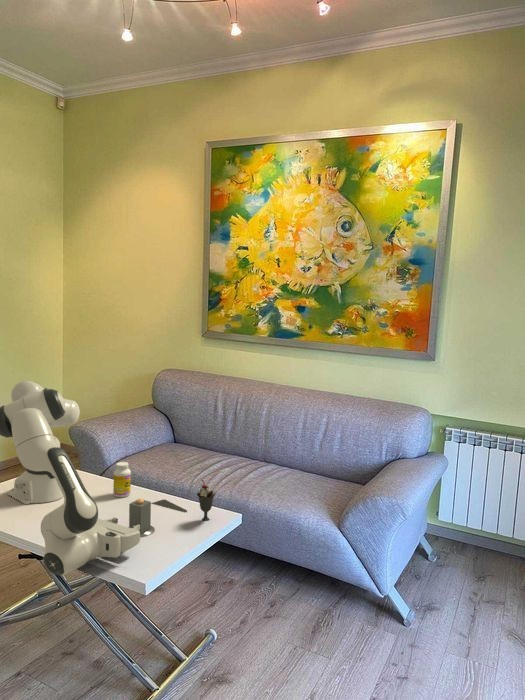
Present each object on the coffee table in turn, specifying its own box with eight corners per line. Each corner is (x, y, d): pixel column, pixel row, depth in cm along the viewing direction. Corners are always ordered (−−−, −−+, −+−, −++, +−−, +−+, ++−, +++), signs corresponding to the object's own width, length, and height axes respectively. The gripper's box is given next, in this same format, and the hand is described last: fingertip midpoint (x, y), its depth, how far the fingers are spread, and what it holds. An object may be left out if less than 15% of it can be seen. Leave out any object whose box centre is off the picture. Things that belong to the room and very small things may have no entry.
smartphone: (173, 516, 185) (148, 503, 195) (173, 518, 185) (148, 506, 195) (188, 510, 191) (164, 498, 201) (188, 513, 191) (164, 501, 201)
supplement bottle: (125, 498, 201) (126, 467, 200) (110, 496, 202) (110, 465, 201) (133, 492, 207) (133, 462, 206) (118, 490, 209) (118, 460, 207)
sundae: (196, 517, 186) (197, 477, 185) (214, 517, 187) (215, 477, 185) (195, 525, 180) (196, 483, 178) (214, 525, 180) (215, 484, 179)
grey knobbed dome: (118, 534, 170) (118, 520, 170) (138, 523, 179) (138, 509, 179) (141, 541, 166) (141, 527, 165) (160, 530, 175) (161, 516, 174)
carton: (129, 531, 171) (129, 501, 170) (139, 526, 176) (139, 496, 175) (140, 535, 169) (141, 504, 168) (150, 529, 174) (150, 499, 173)
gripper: (70, 542, 158) (103, 525, 171) (121, 559, 149) (151, 539, 162) (70, 523, 158) (103, 507, 170) (120, 538, 149) (151, 520, 161)
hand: (127, 523), depth 166 cm, fingers open, 8 cm apart
